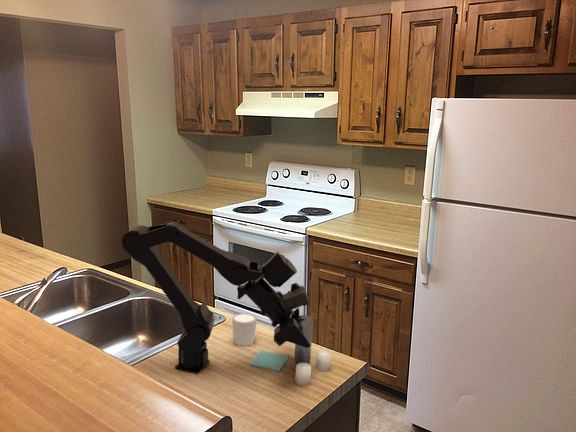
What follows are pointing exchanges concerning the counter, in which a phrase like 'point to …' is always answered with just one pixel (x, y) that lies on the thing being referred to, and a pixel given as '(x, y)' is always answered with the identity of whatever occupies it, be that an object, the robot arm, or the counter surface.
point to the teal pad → (269, 361)
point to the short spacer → (303, 374)
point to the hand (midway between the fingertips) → (308, 342)
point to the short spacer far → (323, 360)
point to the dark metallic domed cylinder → (306, 328)
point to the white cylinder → (244, 329)
